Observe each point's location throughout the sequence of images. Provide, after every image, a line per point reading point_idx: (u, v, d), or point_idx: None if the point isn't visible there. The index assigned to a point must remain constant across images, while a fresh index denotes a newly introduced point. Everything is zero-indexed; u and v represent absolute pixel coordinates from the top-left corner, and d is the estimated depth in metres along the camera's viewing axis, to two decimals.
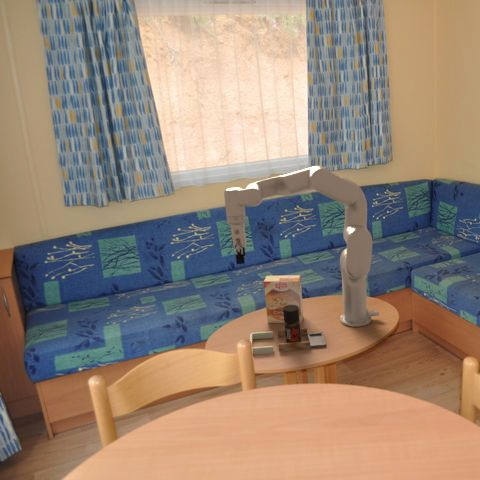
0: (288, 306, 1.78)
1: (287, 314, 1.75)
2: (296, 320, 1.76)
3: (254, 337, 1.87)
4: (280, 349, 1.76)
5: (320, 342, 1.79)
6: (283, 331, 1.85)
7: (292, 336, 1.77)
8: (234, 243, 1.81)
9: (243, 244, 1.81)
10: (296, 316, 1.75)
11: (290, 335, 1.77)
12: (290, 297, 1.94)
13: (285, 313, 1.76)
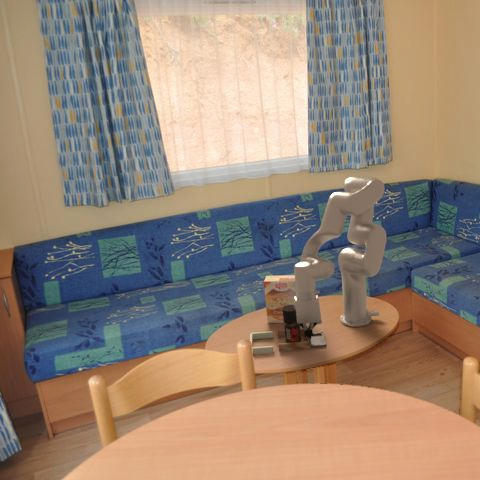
0: (287, 306, 1.78)
1: (287, 314, 1.75)
2: (295, 320, 1.76)
3: (254, 337, 1.87)
4: (280, 349, 1.76)
5: (320, 342, 1.79)
6: (283, 331, 1.85)
7: (292, 336, 1.77)
8: None
9: None
10: (296, 316, 1.75)
11: (290, 335, 1.77)
12: (290, 297, 1.94)
13: (284, 313, 1.76)
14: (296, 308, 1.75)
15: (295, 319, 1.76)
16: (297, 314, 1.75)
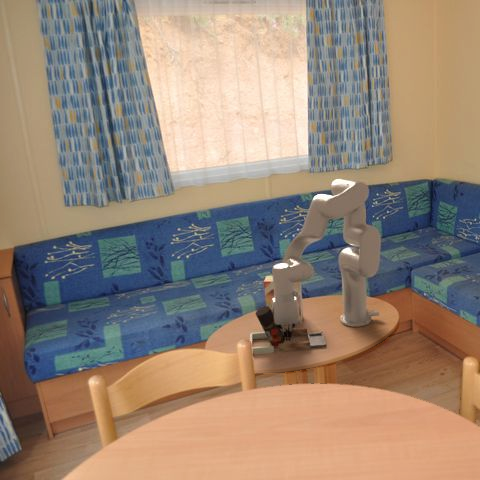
0: (260, 309, 1.78)
1: (261, 318, 1.75)
2: (271, 321, 1.76)
3: (254, 337, 1.87)
4: (280, 349, 1.76)
5: (320, 342, 1.79)
6: None
7: (273, 336, 1.77)
8: None
9: None
10: (270, 317, 1.75)
11: (271, 336, 1.77)
12: None
13: (259, 317, 1.76)
14: (274, 309, 1.75)
15: (270, 320, 1.75)
16: (276, 315, 1.76)
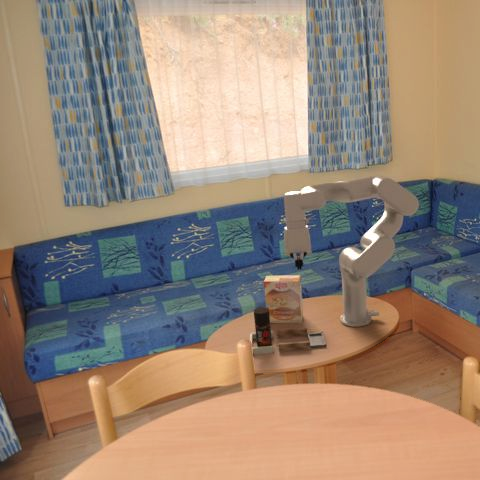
0: (258, 309, 1.79)
1: (258, 317, 1.76)
2: (267, 322, 1.77)
3: (254, 337, 1.87)
4: (280, 349, 1.76)
5: (320, 342, 1.79)
6: (283, 331, 1.85)
7: (264, 338, 1.78)
8: None
9: None
10: (267, 318, 1.76)
11: (262, 337, 1.78)
12: (290, 297, 1.94)
13: (256, 316, 1.76)
14: (286, 237, 1.77)
15: (267, 321, 1.76)
16: (287, 243, 1.78)
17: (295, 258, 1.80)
